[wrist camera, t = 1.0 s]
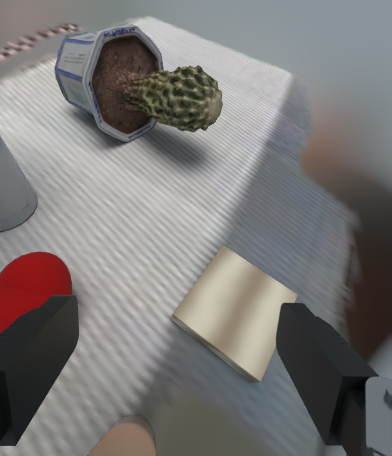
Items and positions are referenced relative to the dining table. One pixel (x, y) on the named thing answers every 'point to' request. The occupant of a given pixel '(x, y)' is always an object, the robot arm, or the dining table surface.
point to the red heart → (31, 284)
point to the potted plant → (133, 84)
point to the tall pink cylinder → (127, 439)
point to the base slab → (235, 313)
